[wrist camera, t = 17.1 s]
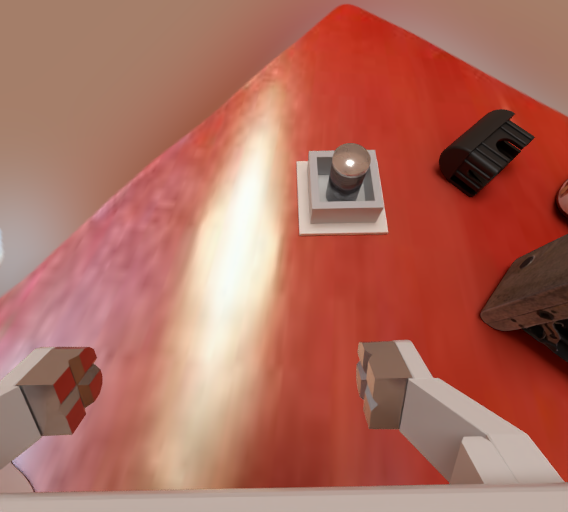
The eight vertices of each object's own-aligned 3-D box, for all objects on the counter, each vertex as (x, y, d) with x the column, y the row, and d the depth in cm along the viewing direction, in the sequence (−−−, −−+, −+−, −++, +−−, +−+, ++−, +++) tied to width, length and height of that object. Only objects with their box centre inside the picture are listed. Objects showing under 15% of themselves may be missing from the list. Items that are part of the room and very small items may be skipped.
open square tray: (299, 235, 44) (300, 219, 40) (296, 164, 49) (297, 142, 44) (386, 234, 44) (397, 217, 40) (375, 162, 49) (384, 140, 44)
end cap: (470, 135, 51) (496, 99, 44) (509, 163, 49) (542, 129, 42) (429, 170, 48) (450, 137, 42) (468, 200, 46) (497, 171, 40)
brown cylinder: (326, 209, 45) (334, 174, 38) (324, 182, 47) (331, 143, 39) (358, 208, 45) (372, 173, 38) (355, 181, 47) (368, 142, 39)
